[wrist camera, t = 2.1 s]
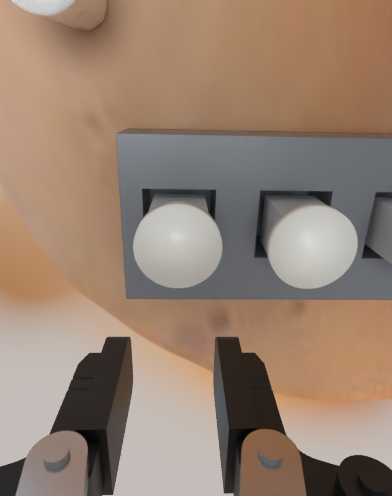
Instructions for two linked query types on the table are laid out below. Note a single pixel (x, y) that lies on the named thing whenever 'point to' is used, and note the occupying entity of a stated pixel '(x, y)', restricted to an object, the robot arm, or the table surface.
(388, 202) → the knob
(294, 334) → the table surface
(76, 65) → the table surface
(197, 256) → the knob
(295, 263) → the knob
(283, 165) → the block
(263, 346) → the table surface
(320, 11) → the table surface
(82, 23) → the milkshake
